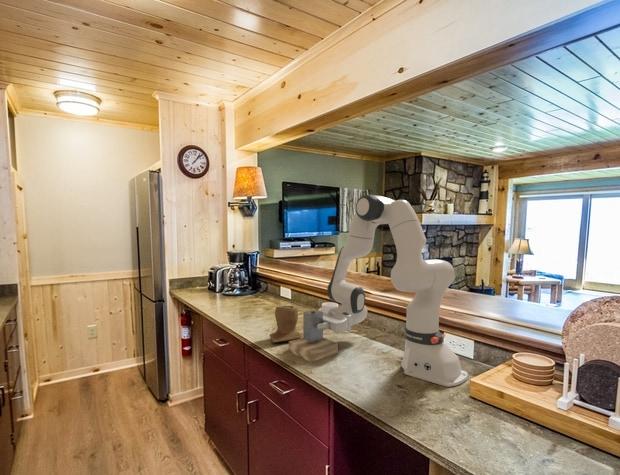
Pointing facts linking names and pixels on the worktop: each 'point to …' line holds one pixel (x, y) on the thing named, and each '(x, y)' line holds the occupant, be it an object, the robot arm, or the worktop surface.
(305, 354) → the maple stand
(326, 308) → the mug
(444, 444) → the worktop surface
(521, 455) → the worktop surface
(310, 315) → the block
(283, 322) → the brown piece
